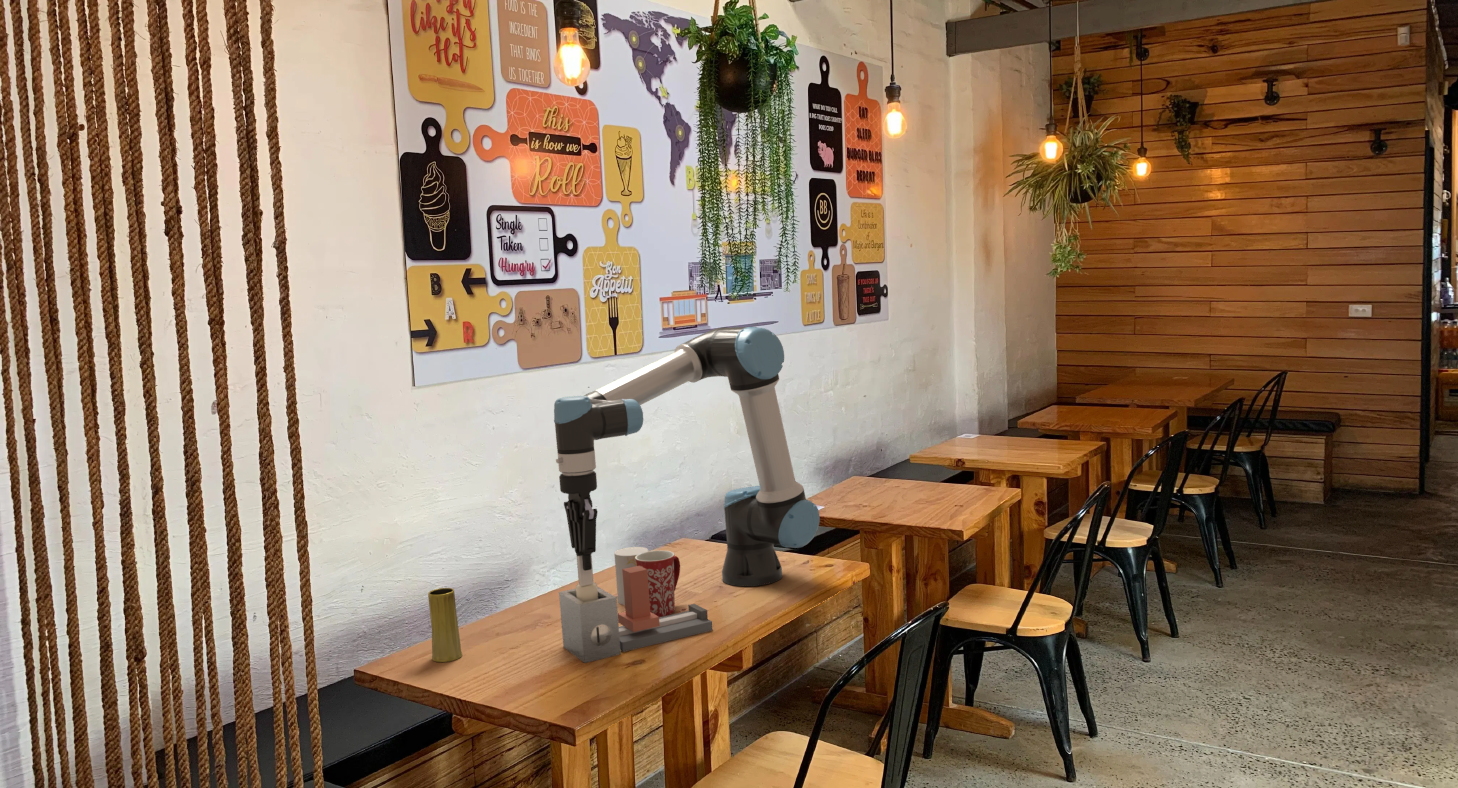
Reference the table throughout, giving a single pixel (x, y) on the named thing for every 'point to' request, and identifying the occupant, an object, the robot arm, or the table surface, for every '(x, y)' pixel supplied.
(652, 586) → the mug
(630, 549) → the cup
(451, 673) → the table surface
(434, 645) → the vase
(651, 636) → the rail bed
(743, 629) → the table surface
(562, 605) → the grey box holder
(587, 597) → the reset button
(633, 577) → the carriage
